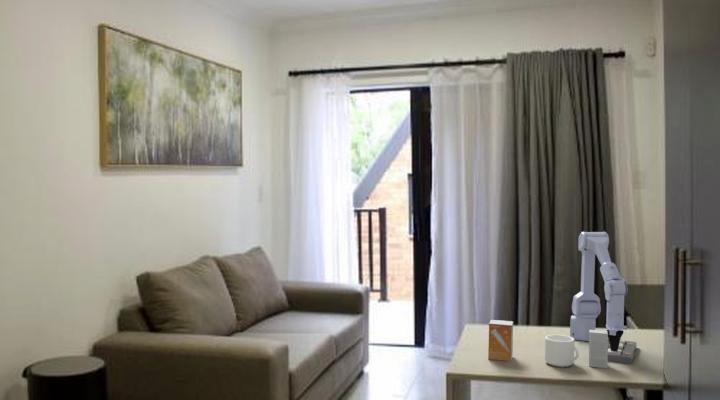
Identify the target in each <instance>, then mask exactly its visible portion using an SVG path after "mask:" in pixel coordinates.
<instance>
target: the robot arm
mask: <svg viewBox="0 0 720 400" xmlns="http://www.w3.org/2000/svg"><path fill="white" fill-rule="evenodd" d="M609 237H610V236H609V234H608V233H607V232H606V231H590V232H589V231H581V233H580V234H579V236H578V243H577V244H578V247H577V248H578V251H579V252H581V272H580V274H581V275H580V291H579V292H578V293H577V294H575V295H573V298H572V303H571V311H572V315H571V316H570V323H569V325H570V327H569V336H570V337H572V338H574V341H575V340H576V341H577V340H579V341H582V342H584V341H585V342H589V330H596V319H597V318H598V317H599V316H600V314H601V311H602V309H601V308H602V306H601V298H600V297H599V296H598V295H597V294H595V269H596V267H595V266H596V257H597V259H598V261H599V263H600V265H601V266H600V267H599V271H600V274H601V276H602V278H603V279H602V280H603V282H604V286H603V288H604V289H603V290H604V294H605V295H604V296H605V300H606V320H605V321H606V324H605V327H606V330H605V331H607V332H608V339H609V343H610V349H611V351H618V348H619V343H620V339H622V337H623V334H624V330H627V329H628V326H627V325H624V323H625V320H624V319H625V296H627V294H628V291H629V289H628V283H627V281H626V279H624V278H623V276H621V275H620V272H619V270H618V267H617V265H616V264H615V263H614V262H612V259H611V257H610V253H609V250H608V248H609V243H610V238H609Z"/></svg>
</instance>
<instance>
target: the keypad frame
mask: <svg viewBox="0 0 720 400" xmlns="http://www.w3.org/2000/svg"><path fill="white" fill-rule="evenodd" d="M609 344H610V343H609V339H608V348H609ZM636 350H637V341H631V340H630V341H629V340H625V345H623V350H621V355H616V354H608V362H614V363H621V364H628V365H632V362H633V359H634V356H635V353H636Z"/></svg>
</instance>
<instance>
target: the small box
mask: <svg viewBox="0 0 720 400" xmlns="http://www.w3.org/2000/svg"><path fill="white" fill-rule="evenodd" d="M488 324H489V325H488V357H487V359H488V360H494V361H495V360H496V361H502V362H503V361H505V362H512V359H513V351H514V350H513V348H514V347H513V346H514V344H513V343H514V321H512V320H500V319H498V320H497V319H490V321H489V323H488Z"/></svg>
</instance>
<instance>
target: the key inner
mask: <svg viewBox="0 0 720 400" xmlns="http://www.w3.org/2000/svg"><path fill="white" fill-rule="evenodd" d="M625 341H626V338H621V339H620V343H623V345H625Z"/></svg>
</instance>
